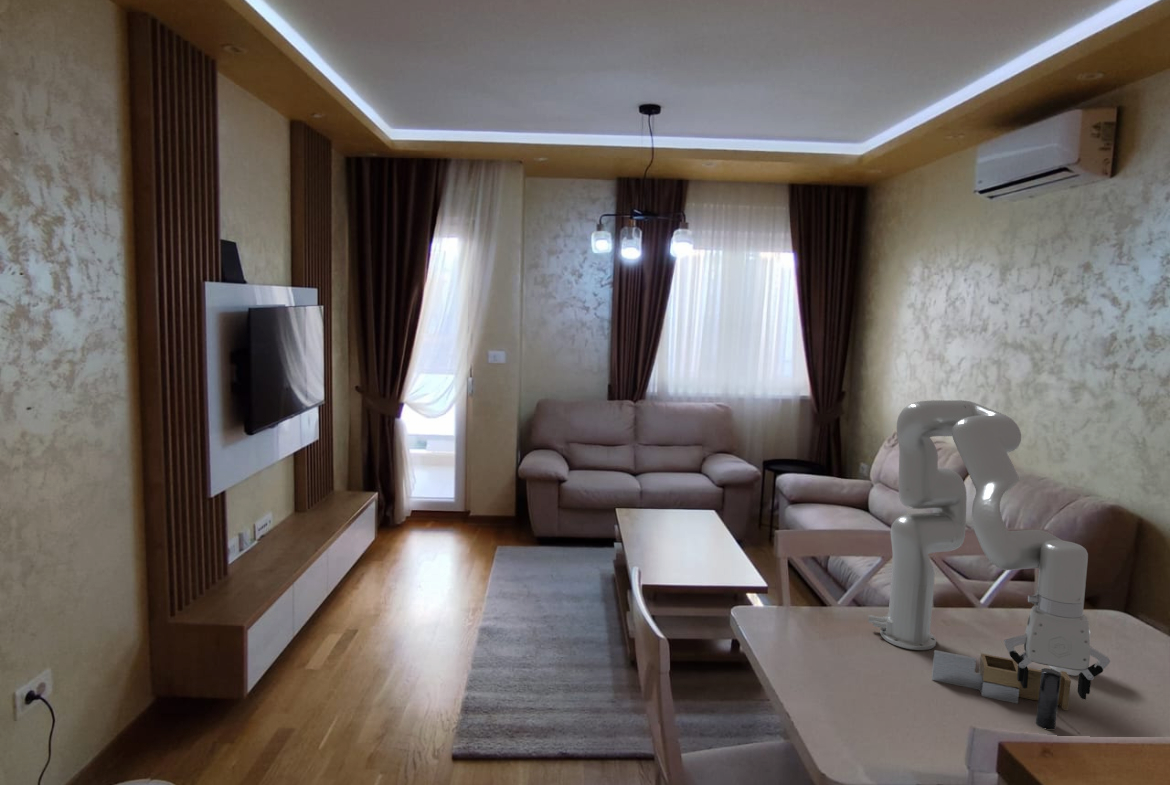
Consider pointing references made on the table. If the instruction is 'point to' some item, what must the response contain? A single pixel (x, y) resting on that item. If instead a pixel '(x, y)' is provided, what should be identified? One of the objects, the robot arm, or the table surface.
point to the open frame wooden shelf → (1006, 674)
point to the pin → (1048, 698)
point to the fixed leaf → (969, 676)
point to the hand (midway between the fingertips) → (1052, 690)
